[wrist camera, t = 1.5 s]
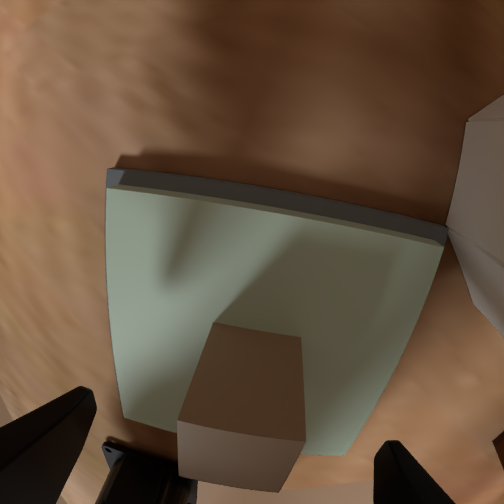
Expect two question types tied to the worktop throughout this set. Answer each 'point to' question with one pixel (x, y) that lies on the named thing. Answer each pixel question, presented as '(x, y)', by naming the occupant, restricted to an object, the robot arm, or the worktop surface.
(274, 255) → the lid
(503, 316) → the bowl
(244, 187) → the mat
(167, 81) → the worktop surface
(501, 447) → the food container
